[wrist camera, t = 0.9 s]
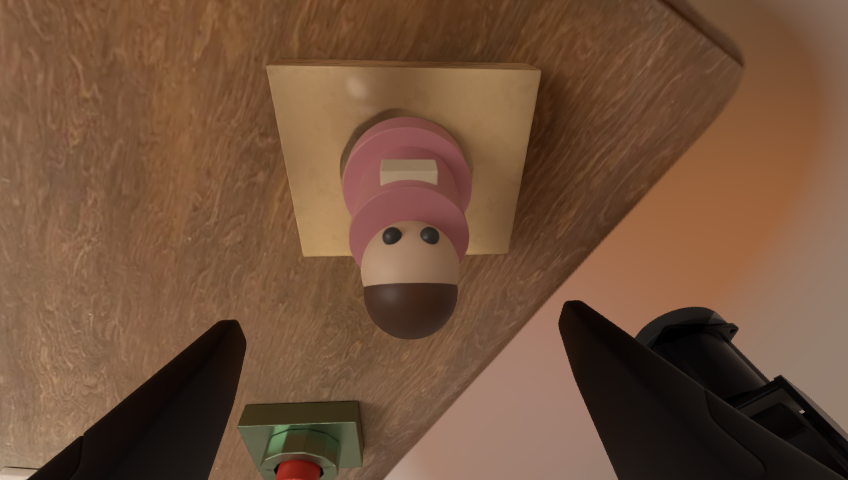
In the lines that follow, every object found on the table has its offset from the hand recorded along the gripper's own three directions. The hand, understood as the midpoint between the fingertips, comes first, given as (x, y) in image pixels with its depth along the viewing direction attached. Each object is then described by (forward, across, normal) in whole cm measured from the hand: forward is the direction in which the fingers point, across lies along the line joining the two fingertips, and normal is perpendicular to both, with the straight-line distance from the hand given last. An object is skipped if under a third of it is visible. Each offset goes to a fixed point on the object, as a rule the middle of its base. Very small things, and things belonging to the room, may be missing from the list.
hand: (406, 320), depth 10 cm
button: (+9, +10, +27) cm, 30 cm away
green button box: (+12, +10, +27) cm, 31 cm away
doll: (+10, 0, 0) cm, 10 cm away
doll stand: (+12, 0, 0) cm, 12 cm away
